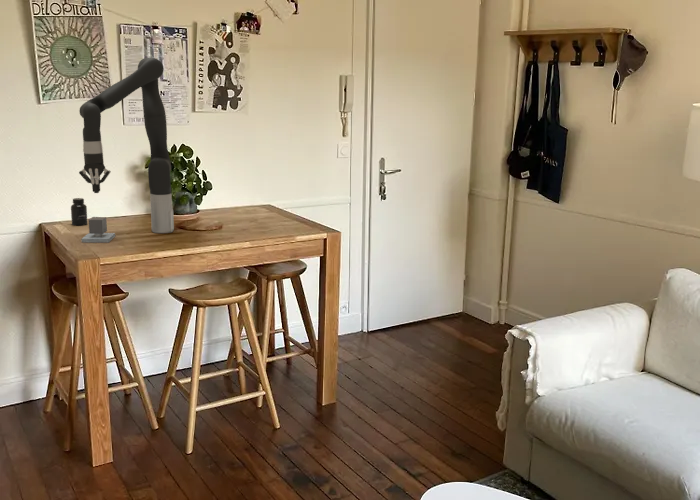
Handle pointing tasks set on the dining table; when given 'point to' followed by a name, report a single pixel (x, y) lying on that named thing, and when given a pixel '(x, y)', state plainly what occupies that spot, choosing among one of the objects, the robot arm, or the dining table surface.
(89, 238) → the post base
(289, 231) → the dining table surface
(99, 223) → the block
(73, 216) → the supplement bottle
